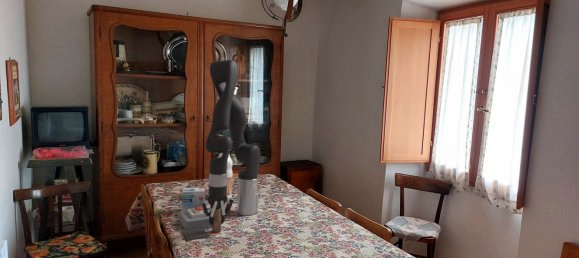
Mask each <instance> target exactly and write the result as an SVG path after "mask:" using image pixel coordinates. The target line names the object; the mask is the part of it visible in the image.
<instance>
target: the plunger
mask: <svg viewBox="0 0 579 258" xmlns="http://www.w3.org/2000/svg"><path fill="white" fill-rule="evenodd" d="M198 213H203V208H202V207H201V206H197V207H195V214H198Z"/></svg>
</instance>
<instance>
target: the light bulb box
mask: <svg viewBox="0 0 579 258" xmlns="http://www.w3.org/2000/svg"><path fill="white" fill-rule="evenodd" d="M205 194H206V192H205V187H187V188H186V187H182V190H181V204H180V205H181V207H180V208H181V210H180V211H186V210H187V209H194V208H195V207H197V206H201V207H202V205H201V202H202V201H203V202H204V201H206V199H205V197H206V195H205Z"/></svg>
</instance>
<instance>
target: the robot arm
mask: <svg viewBox="0 0 579 258" xmlns="http://www.w3.org/2000/svg"><path fill="white" fill-rule="evenodd" d="M209 75H210V77H211V81H212V83H213V86H214V88H215V90H216V94H217V96H218V100H217V102H216V103H215V105H214V106H213V107H214V108H213V111H212V119H211V126H210V131H209V133H208V135H207V138H206V140H205V150H206V151H207V152H208V153H211V154H213V153H214V154H220V153H223V155H222V157H219V158H218V157H215V158H212V159H210V161H209V171H208V172H209V175H208V186H207V187H208V189H207V190H208V191H207V192H208V193H207V194H208V196H207V198H206V199H205V201H204V202H203V201H202V202H201V205H202V208H203V211H204V213H205V215H206V216H209V223H210V224H211V225H214V217H213V215H214V212H215V209H216V208H221V211H222V212H221V225H223V224H224V223H225V221H226V219H225V218H226V217H225V216H226V214H230V211H231V209H232V206H233V203H234V200H233V198H232V197H231V198H227V161H228V157H229V154H230V153H231V150H232V147H233V151H234V152H233V153H234V156H235V159H236V161H238V162H239V163H240V164H246V167H245V169H242V170H239V171H238V173H237V179H238V180H237V195H236V196H237V198H236V200H237V201H236V203H237V204H236V214H238V215H240V216H253V215H255V214H258V213H259V212H258V211H259V193H258V175H259V172H260V163H261V150H260V148H259V146H258V145H255V144H248V143H246V141H245V137H244V136H245V135H244V133H245V129H246V127H247V123H248V117H247V114H246V110H245V108H244V105H243V103H242V102H241V101H240V100H239V99H238V97H236V96H235V95H234V94H235V90H236V86H237V82H238V79H239V66H238V64H237V62H236V61H235V60H234V59H227V60H216V61H212V62H211V63H210V65H209ZM225 131H229V133H230V136H227V135H218V134H219V133H220V132H225ZM208 204H209V205H210V206H209V208H210V211H209V212H208V210H207V208H208ZM225 204H226V206H225Z"/></svg>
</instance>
